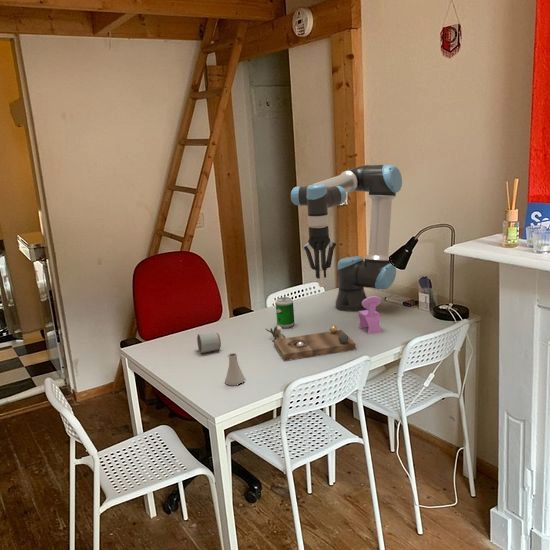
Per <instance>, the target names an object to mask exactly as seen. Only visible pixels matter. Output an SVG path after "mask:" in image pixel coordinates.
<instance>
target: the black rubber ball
mask: <svg viewBox="0 0 550 550" xmlns="http://www.w3.org/2000/svg"><path fill="white" fill-rule="evenodd" d="M348 337H349V335H348V334H347V333H346V332H344V333H342V334H340V335H339V337H338V339H339V341H340V342H341V343H346V342H347V341H348Z"/></svg>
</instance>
